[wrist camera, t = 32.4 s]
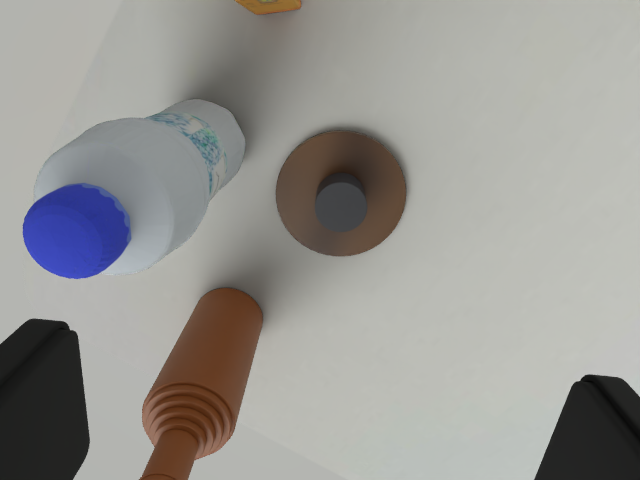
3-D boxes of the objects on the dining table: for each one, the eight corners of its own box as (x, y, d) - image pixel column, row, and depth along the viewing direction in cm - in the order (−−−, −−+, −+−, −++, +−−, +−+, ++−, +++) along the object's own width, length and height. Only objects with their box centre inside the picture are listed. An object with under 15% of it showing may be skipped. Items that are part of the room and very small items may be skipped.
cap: (369, 177, 34) (372, 187, 32) (359, 223, 36) (361, 236, 33) (320, 168, 34) (319, 177, 32) (312, 214, 36) (310, 227, 33)
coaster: (273, 247, 37) (272, 250, 37) (280, 123, 34) (279, 124, 33) (394, 259, 37) (395, 262, 37) (415, 137, 34) (416, 138, 33)
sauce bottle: (196, 343, 41) (107, 531, 25) (194, 284, 39) (94, 450, 23) (262, 348, 41) (215, 539, 25) (263, 290, 39) (213, 459, 23)
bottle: (216, 200, 36) (90, 358, 18) (146, 142, 34) (-74, 248, 16) (270, 137, 34) (193, 241, 15) (199, 72, 32) (17, 102, 14)
